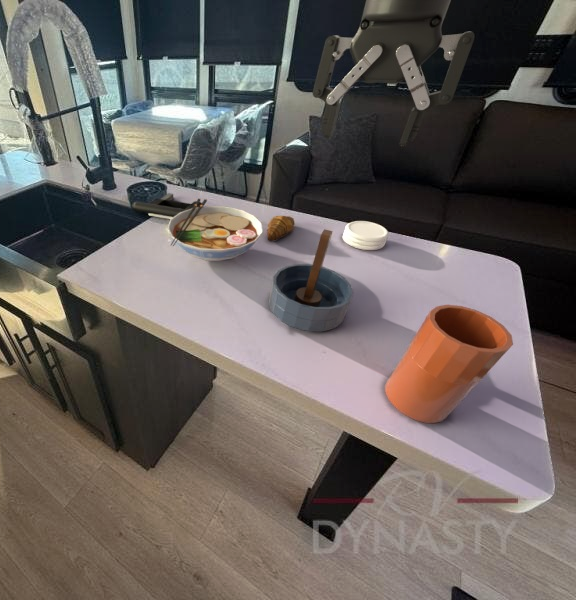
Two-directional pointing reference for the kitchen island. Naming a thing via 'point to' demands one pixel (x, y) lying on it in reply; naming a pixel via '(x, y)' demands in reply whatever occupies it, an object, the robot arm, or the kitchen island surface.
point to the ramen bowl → (214, 231)
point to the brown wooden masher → (314, 274)
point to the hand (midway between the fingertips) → (363, 140)
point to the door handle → (163, 207)
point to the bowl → (304, 316)
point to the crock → (446, 362)
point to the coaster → (365, 235)
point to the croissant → (279, 227)
